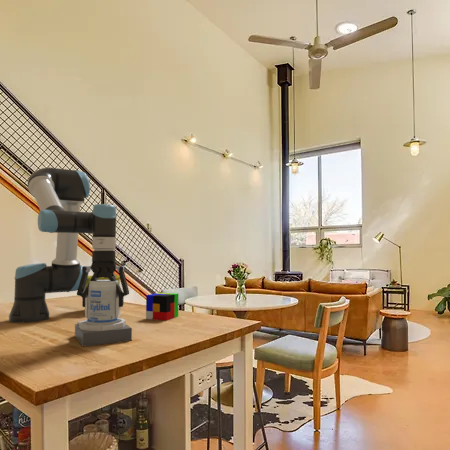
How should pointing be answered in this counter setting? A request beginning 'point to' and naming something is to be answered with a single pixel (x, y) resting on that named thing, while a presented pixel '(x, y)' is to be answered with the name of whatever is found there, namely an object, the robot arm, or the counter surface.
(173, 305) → the puzzle toy
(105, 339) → the grey square ring block
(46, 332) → the counter surface
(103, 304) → the supplement tub
